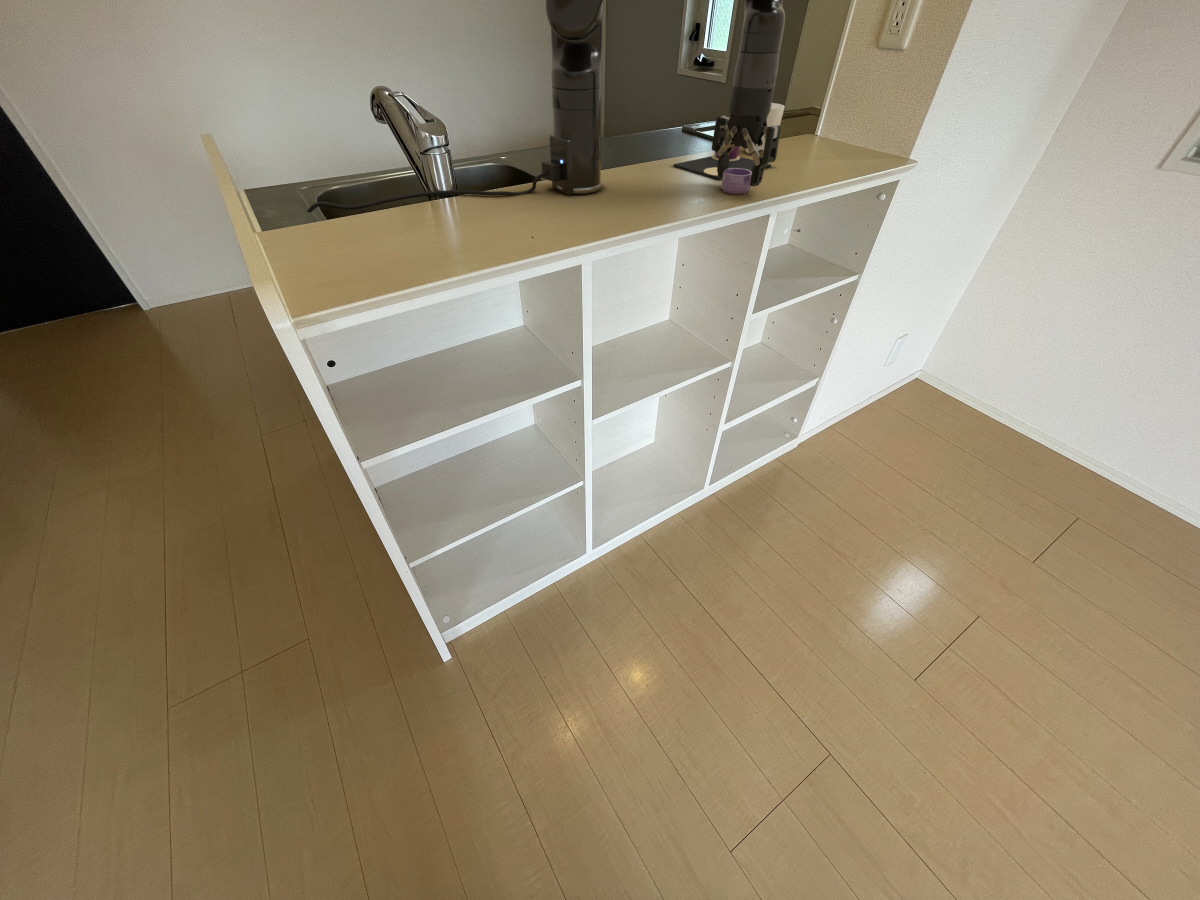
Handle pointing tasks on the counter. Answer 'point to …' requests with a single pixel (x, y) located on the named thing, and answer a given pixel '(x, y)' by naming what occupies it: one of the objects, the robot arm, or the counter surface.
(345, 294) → the counter surface
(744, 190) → the lilac dish
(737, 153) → the plum dish
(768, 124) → the white cup
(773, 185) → the counter surface
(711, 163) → the mat
